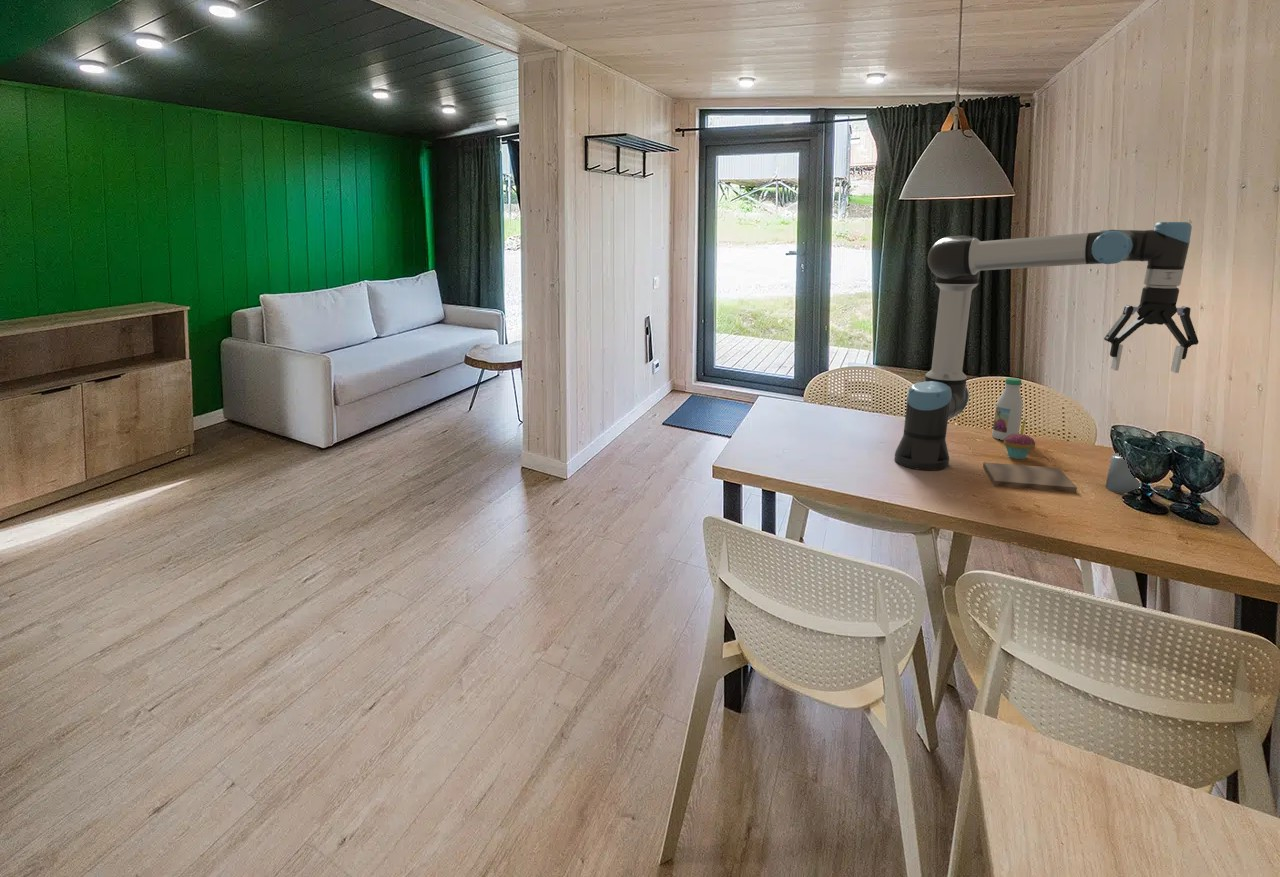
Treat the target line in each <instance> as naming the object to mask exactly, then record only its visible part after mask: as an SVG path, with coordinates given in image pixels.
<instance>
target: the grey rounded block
mask: <svg viewBox="0 0 1280 877" xmlns="http://www.w3.org/2000/svg"><path fill="white" fill-rule="evenodd" d="M1119 453H1120V452H1116V453H1115V452H1114V453H1112V454H1111V457H1110V463H1109V467H1108V472H1107V478H1106V482H1105V489H1107V490H1108V491H1110V492H1114V493H1116V494H1120V495H1125V494H1124V493H1128V492H1130V491H1132V490H1135V489H1138V488H1139V487H1140V483H1139V481H1138V480H1137V479H1135V478H1134V476H1133V475H1132V474H1131V472H1130V469H1129V468H1128V464H1127V461H1126V460H1124V459H1123V457H1121V455H1120V456H1119Z"/></svg>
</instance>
